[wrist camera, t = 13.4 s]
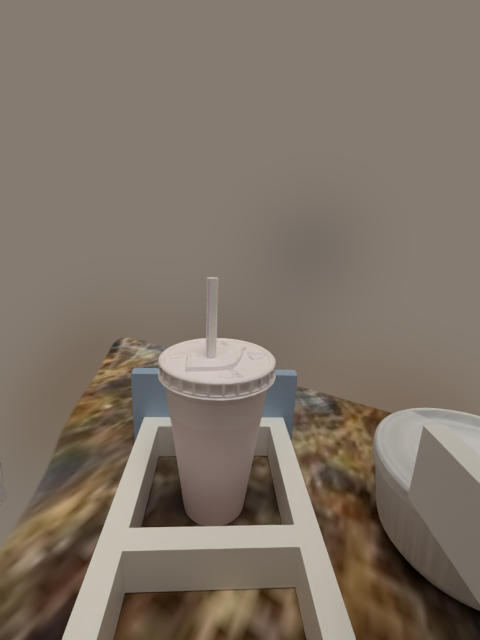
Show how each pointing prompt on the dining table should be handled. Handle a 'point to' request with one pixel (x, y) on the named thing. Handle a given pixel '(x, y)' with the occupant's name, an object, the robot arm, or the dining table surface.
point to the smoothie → (215, 416)
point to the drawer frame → (209, 530)
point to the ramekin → (394, 483)
